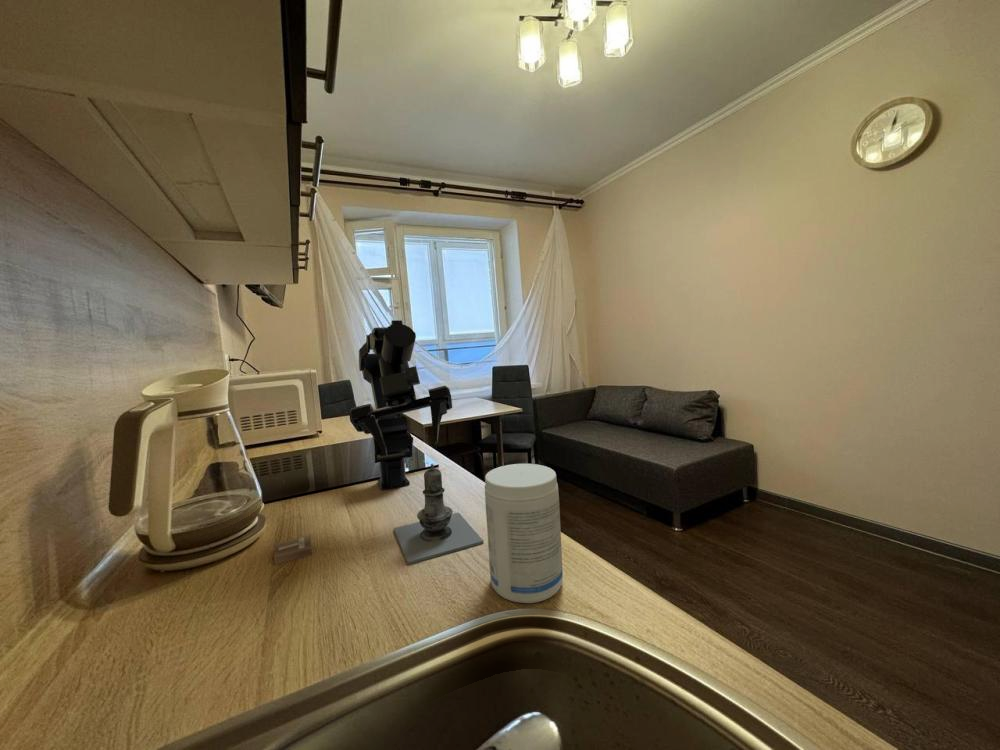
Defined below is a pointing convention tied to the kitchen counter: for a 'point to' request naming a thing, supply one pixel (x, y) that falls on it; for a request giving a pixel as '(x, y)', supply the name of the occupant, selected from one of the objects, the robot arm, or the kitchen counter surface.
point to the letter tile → (292, 549)
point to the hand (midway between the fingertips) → (411, 449)
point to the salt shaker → (434, 509)
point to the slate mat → (424, 550)
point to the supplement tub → (524, 532)
